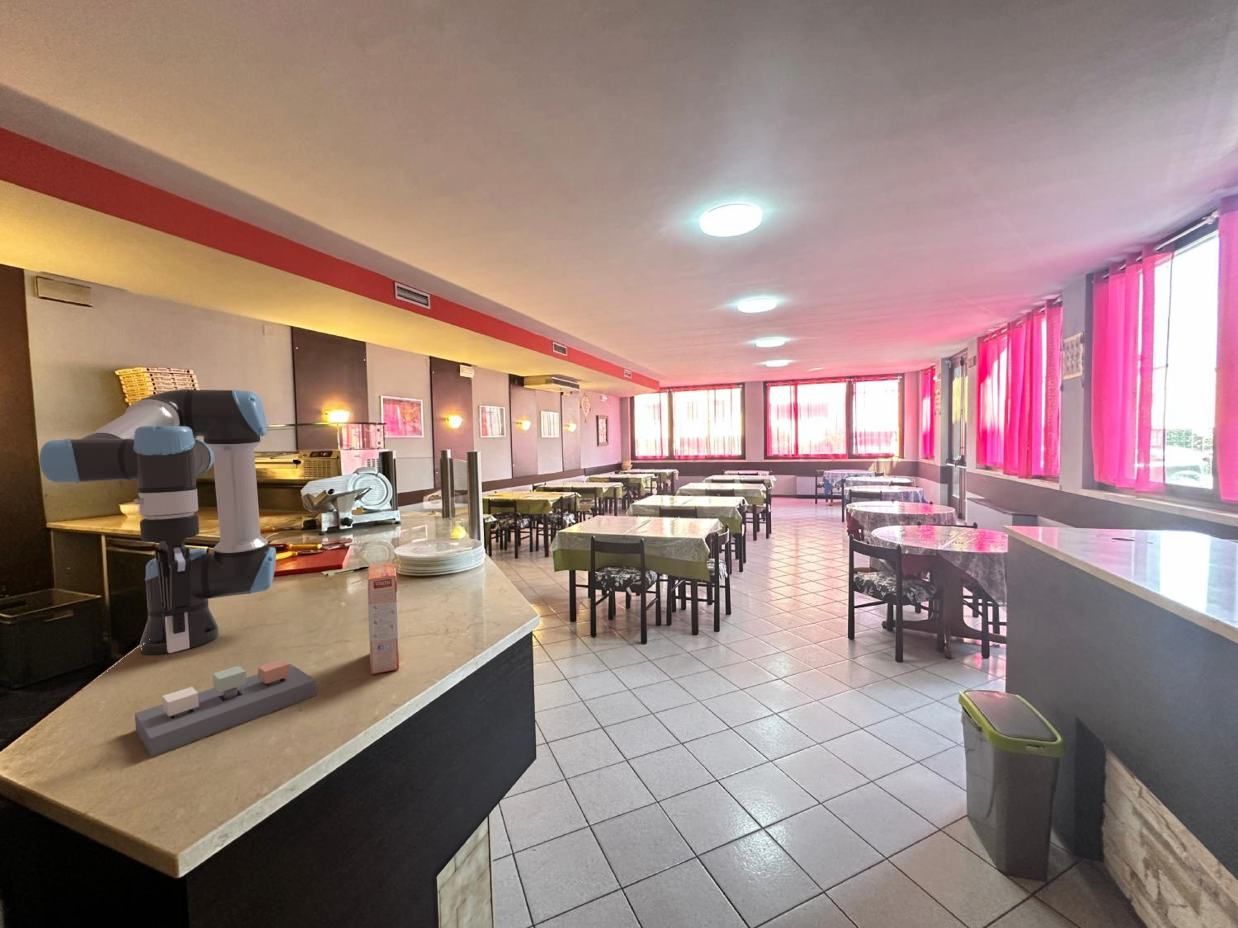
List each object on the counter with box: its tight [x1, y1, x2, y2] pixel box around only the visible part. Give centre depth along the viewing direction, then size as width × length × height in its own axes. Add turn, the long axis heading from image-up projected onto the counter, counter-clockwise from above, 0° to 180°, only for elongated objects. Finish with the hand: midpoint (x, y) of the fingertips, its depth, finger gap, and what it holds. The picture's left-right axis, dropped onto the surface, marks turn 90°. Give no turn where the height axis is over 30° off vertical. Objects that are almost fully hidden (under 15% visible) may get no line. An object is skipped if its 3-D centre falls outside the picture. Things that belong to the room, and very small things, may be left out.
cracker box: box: [367, 563, 400, 675], centre depth 113 cm, size 14×6×21 cm, turn 26°
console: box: [134, 663, 317, 757], centre depth 93 cm, size 13×24×3 cm, turn 142°
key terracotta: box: [257, 659, 290, 686], centre depth 98 cm, size 4×4×5 cm
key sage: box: [212, 665, 247, 701], centre depth 92 cm, size 4×4×5 cm
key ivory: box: [162, 686, 199, 718], centre depth 87 cm, size 4×4×5 cm
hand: (178, 649), depth 87 cm, fingers closed
